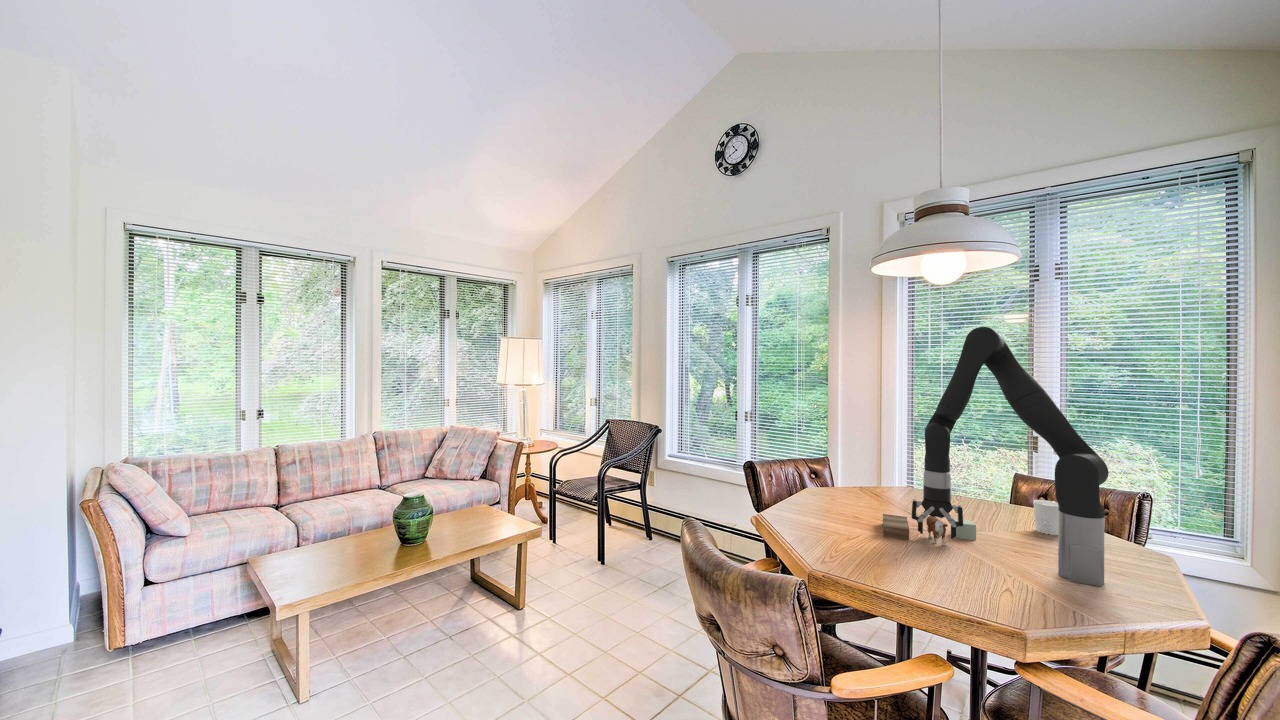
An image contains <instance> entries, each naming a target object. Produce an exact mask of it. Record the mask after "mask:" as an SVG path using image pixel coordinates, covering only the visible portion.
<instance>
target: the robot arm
mask: <svg viewBox="0 0 1280 720" xmlns="http://www.w3.org/2000/svg"><path fill="white" fill-rule="evenodd" d="M958 359H959V360H958V362H957V364H956V367H955V369H954V371H953V374H952V377H951V378H950V381H949V382H948V385H947V387H946V389H945V390H944V392H943V394H942V396H941V398H940V399H939V402H938V404H937V407H936V409H935V412H934V413H933V414H932V416H931V417H930V419H929V421H928V423H927V424H926V427H924V428H925V429H924V446H925V447H924V449H925V453H924V454H925V455H924V468H923V469H924V471H923V480H922V483H923V499H922V501H919V500H917V499H913V500H912V505H911V519H912V520H915V521H917V531H918V532H919V534H920V535H923V534H924V524H923V523H924V520H926V519H927V517H929V516H931V517H936V518H940V519H944V518H945V519H946V520H947V522H948V523H949V524H950V539H952V540H954V538H957V537H956V527H958V526H963V520H964V515H963V514H964V513H963V506H962V505H960V504H959V505H953V504H952V503H951V502H952V501H951V500H952V499H951V498H952V496H951V495H952V493H951V492H952V490H951V488H952V486H951V485H952V481H951V472H950V471H951V460H950V448H951V433H952V431H953V429H954V426H955V424H956V423H957V421H958V420H959V419H960V418H961V417H962V415H963V412H964V411H965V410H966V408H967V405H968V404H969V401H970V399H971V397H972V394H973V391H974V388H975V383H976V380H977V377H978V376H979V373H980V371H981V369H982V367H983V366H984V365H985V367H986V368H987V369H988V370H989V371H990V372H991V374H992V375H993V376H994V378H995V380H996V382H997V383H998V386H999V388H1000V390H1001V392H1002V394H1003V396H1004V398H1005V399H1006V401H1007V403H1008V404H1009V406H1010V407H1011V409H1012V410H1013V411H1014V413H1015V414H1016V415H1017V416H1018V418H1019V419H1020V420H1021V421H1022V422H1023V424H1025V425H1026V426H1027V427H1028V428H1030V429H1031V430H1033V432H1035V433H1036V434H1037V435H1039V437H1041V438H1042V439H1043V440H1044V441H1046V442H1047V444H1048V445H1049V446H1050V447H1051V448H1052V449H1053V452H1055V454H1056V455H1057V456H1058V458H1059V459H1058V460H1057V462H1056V464H1055V467H1054V492H1055V493H1054V494H1055V500H1056V502H1057V503H1058V509H1059V513H1058V535H1057V536H1058V537H1057V538H1058V539H1057V540H1058V541H1057V543H1058V549H1057V550H1058V551H1057V552H1058V553H1057V555H1058V556H1057V557H1058V561H1057V562H1058V564H1057V565H1058V569H1057V570H1058V571H1057V572H1058V575H1059V576H1061V577H1063V578H1065V579H1067V580H1069V582H1072V583H1073V582H1074V583H1078V584H1085V585H1089V586H1090V585H1091V586H1096V587H1102V586H1103V585H1104V584H1105V511H1106V510H1105V506H1103V505H1102V502H1101V499H1100V486H1101V485H1103V484H1104V483H1105V482H1106V481H1107V480H1108V478H1109V475H1110V474H1109V467H1108V466H1107V463H1106V462H1105V461H1104V459H1103V458H1102V457H1101V456H1100V455H1099V454H1098V453H1097V452H1096V451H1095V450H1094V449H1093V448H1092V447H1091V446H1090V445H1089V444H1088V443H1087V442H1086V440H1084V439H1083V438H1082V437H1081V436H1080V434H1079V433H1077V431H1076V430H1075V429H1074V427H1073V426H1072V424H1071V423H1070V422H1069V420H1068V419H1067V418H1066V416H1065V415H1064V414H1063V412H1062V411H1061V410H1060V409H1059V407H1058V406H1057V404H1056V403H1055V402H1054V400H1053V399H1052V398H1051V397H1050V395H1049V394H1048V393H1047V391H1046V390H1045V389H1044V388H1043V386H1042V385H1041V384H1039V382H1038V381H1037V380H1036V379H1035V378H1034V376H1032V375H1031V373H1029V371H1027V370H1026V369H1025V368H1024V366H1022V365H1021V364H1020V362H1019V361H1018V359H1017V358H1016V356H1015V355H1014V353H1013V352H1012V351H1011V349H1010V347H1009V345H1008V344H1007V342H1006V341H1005V339H1004V336H1003V335H1001V333H999V332H998V331H997V330H995V329H993V328H991V327H988V326H978V327H975V328H973V329H971V330H970V331H969V332H968V334H967V335H966V337H965V339H964V342H963V346H962V350H961V352H960V356H959V358H958ZM920 506H922V508H923V509H924V511H922V513H921V514H920V515H917V509H918V508H920ZM952 510H954V512H955V513H956V514H957V519H958V521H956V522H955V521H954V520H953V517H952V516H951V514H950V513H951V511H952Z"/></svg>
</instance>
